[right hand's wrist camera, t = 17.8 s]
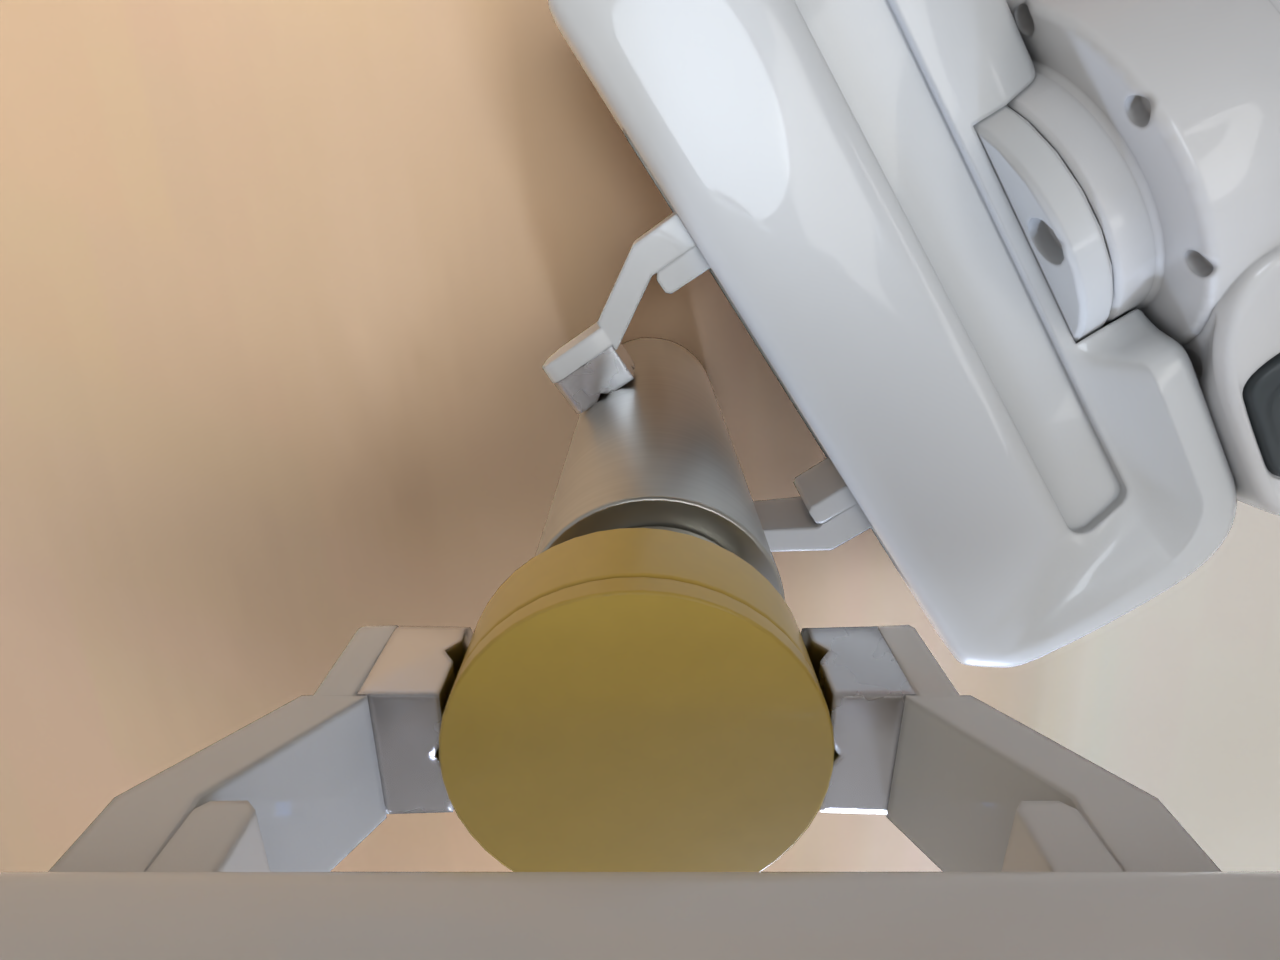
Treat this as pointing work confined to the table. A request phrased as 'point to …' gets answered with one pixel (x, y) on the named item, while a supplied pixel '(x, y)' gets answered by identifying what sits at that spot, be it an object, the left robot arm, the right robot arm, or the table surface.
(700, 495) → the grey cylinder
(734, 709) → the lid
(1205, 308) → the left robot arm
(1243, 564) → the table surface
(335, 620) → the table surface
